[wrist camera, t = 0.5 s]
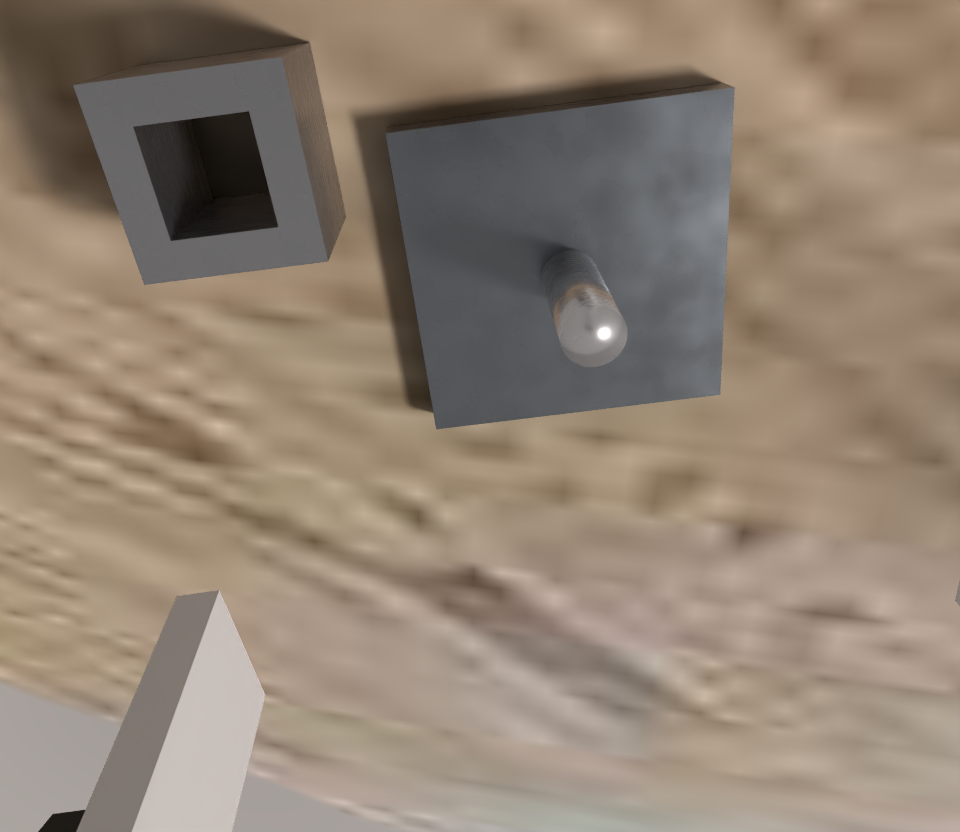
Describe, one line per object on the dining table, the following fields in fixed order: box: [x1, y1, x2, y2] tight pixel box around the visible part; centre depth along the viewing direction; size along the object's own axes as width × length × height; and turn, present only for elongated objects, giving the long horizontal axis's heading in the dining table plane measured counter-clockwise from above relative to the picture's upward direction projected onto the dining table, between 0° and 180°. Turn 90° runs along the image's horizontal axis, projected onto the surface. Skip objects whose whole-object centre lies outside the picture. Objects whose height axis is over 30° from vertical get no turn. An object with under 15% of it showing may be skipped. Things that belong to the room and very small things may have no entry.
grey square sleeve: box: [73, 43, 346, 285], centre depth 30 cm, size 7×7×6 cm
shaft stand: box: [385, 83, 734, 429], centre depth 32 cm, size 14×14×8 cm
